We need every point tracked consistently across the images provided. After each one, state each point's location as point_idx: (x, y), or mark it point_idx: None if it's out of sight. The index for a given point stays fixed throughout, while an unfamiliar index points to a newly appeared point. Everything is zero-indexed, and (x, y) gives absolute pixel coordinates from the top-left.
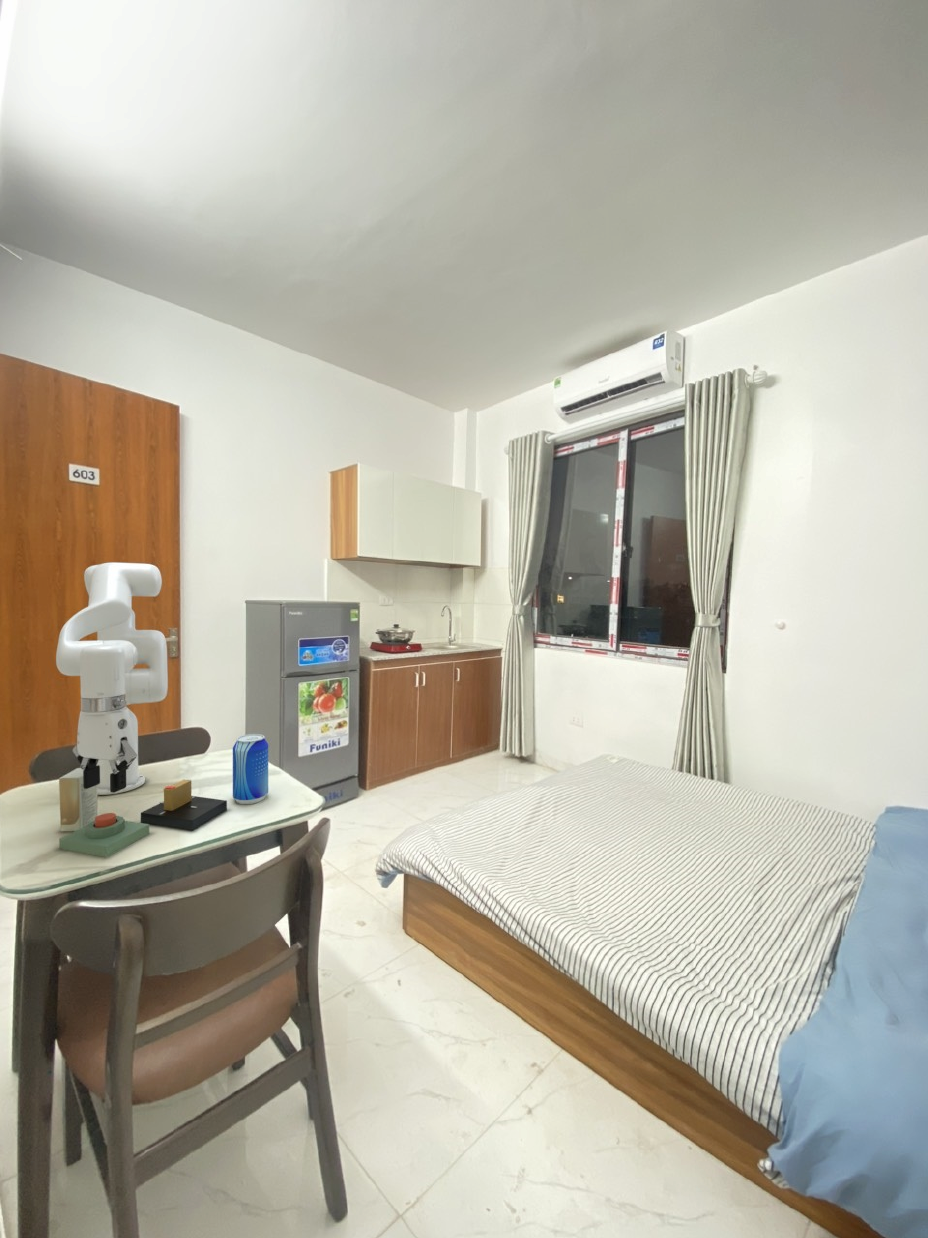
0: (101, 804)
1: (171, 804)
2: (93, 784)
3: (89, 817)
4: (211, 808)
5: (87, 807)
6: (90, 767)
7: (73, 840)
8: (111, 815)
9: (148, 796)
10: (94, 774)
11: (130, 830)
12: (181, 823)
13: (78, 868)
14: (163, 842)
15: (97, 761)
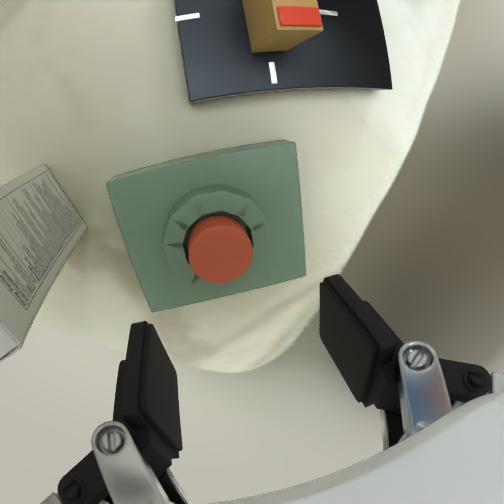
0: None
1: (294, 45)
2: (166, 357)
3: (58, 204)
4: (376, 13)
5: (48, 225)
6: (165, 453)
7: (194, 301)
8: (232, 241)
9: (32, 8)
10: (161, 397)
11: (280, 195)
12: (352, 88)
13: (281, 307)
14: (354, 157)
15: (142, 455)
